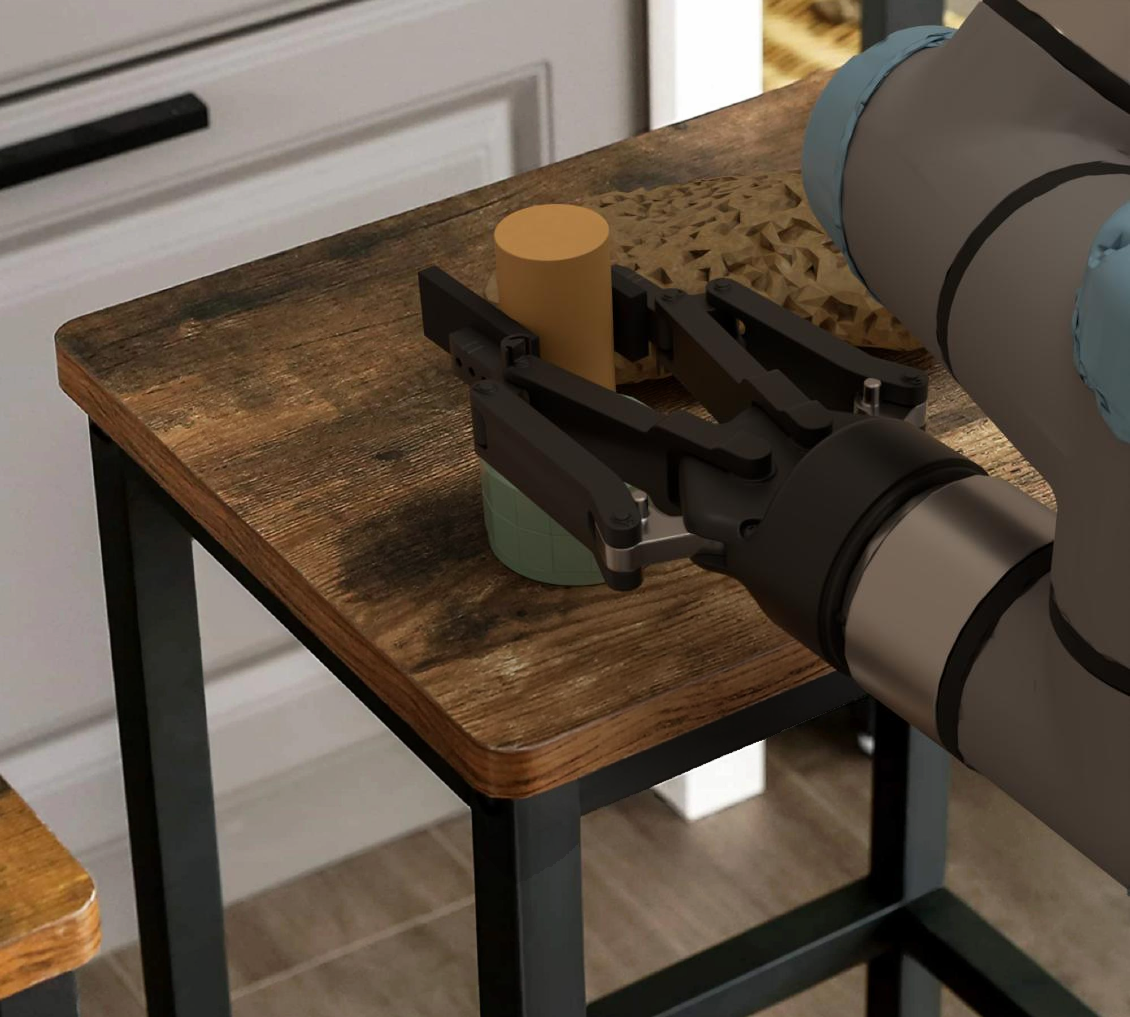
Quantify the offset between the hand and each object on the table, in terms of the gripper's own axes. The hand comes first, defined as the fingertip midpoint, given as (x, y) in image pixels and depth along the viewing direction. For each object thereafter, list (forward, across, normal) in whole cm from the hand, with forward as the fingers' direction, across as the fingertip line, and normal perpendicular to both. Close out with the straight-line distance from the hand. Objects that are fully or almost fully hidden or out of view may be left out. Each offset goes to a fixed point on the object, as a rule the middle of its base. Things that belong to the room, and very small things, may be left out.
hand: (482, 279), depth 80 cm
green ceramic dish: (-5, 0, -8) cm, 10 cm away
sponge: (+1, +13, -9) cm, 15 cm away
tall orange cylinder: (-5, 0, -6) cm, 8 cm away
